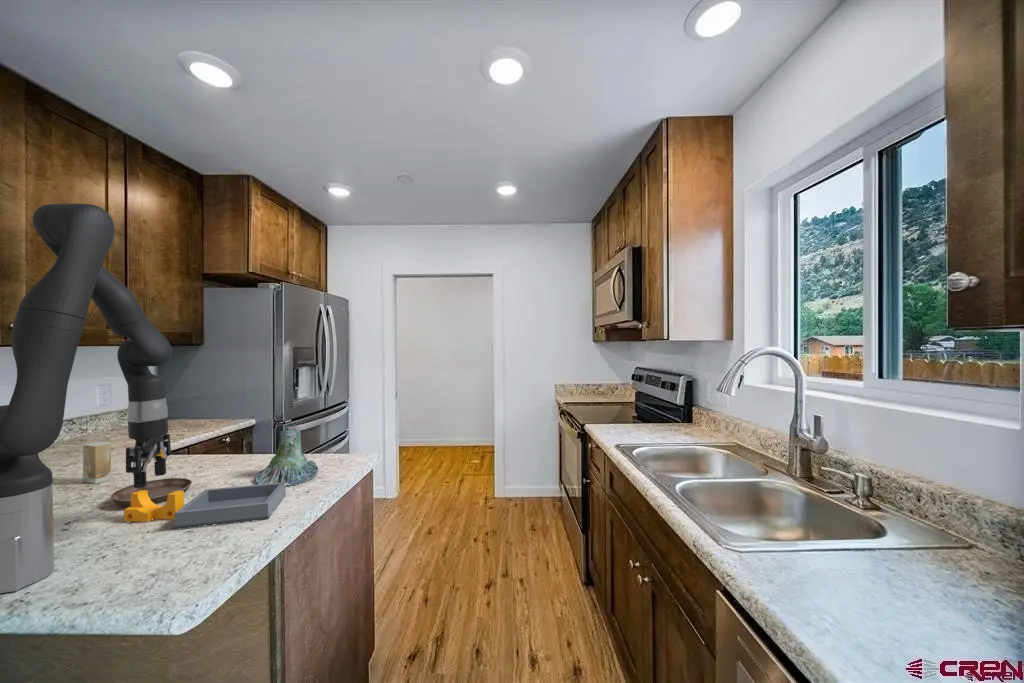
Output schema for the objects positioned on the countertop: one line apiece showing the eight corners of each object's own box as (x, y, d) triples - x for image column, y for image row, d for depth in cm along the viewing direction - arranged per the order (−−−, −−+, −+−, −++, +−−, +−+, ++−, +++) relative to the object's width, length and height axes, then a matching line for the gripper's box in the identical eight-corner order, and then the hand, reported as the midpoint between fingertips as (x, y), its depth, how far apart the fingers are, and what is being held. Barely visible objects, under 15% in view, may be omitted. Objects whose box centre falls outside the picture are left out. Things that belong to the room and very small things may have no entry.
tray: (268, 519, 103) (268, 503, 103) (174, 529, 98) (174, 513, 98) (285, 495, 119) (285, 482, 119) (205, 503, 113) (205, 489, 113)
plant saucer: (207, 488, 127) (207, 478, 126) (151, 512, 109) (151, 500, 109) (155, 486, 128) (155, 476, 128) (92, 510, 111) (91, 498, 111)
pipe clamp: (124, 522, 103) (123, 496, 103) (140, 514, 107) (140, 490, 107) (169, 523, 102) (168, 497, 102) (184, 515, 106) (183, 490, 106)
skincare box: (82, 482, 132) (81, 444, 132) (99, 477, 136) (98, 441, 136) (95, 484, 130) (94, 445, 130) (112, 479, 134) (111, 442, 134)
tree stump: (242, 493, 122) (244, 432, 126) (269, 486, 141) (270, 433, 145) (308, 485, 126) (308, 426, 130) (325, 479, 145) (325, 428, 149)
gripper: (147, 412, 109) (150, 473, 109) (110, 424, 95) (113, 493, 96) (180, 411, 111) (182, 470, 111) (148, 422, 97) (151, 489, 98)
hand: (150, 481), depth 104 cm, fingers open, 8 cm apart
